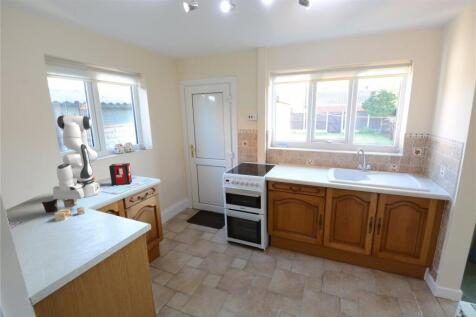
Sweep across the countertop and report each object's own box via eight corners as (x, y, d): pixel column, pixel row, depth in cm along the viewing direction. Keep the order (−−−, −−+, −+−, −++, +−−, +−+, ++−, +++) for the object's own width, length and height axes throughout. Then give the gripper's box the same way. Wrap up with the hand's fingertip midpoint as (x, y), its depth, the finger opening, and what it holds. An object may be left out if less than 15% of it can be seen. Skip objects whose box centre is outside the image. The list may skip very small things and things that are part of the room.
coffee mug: (50, 215, 157) (48, 202, 155) (41, 214, 159) (38, 201, 157) (66, 208, 168) (63, 196, 166) (57, 207, 170) (54, 195, 168)
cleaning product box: (132, 181, 231) (129, 163, 226) (129, 184, 222) (127, 165, 218) (114, 183, 227) (112, 164, 223) (111, 185, 219) (108, 166, 215)
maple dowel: (79, 212, 158) (78, 207, 157) (85, 211, 159) (84, 206, 158) (76, 215, 154) (75, 209, 153) (82, 214, 155) (81, 209, 154)
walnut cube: (69, 204, 165) (68, 198, 164) (76, 204, 165) (75, 198, 164) (64, 207, 160) (63, 201, 159) (71, 207, 161) (70, 201, 159)
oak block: (62, 216, 153) (60, 209, 152) (71, 215, 153) (69, 209, 152) (55, 220, 147) (54, 213, 146) (65, 219, 147) (63, 213, 146)
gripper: (49, 187, 156) (52, 205, 159) (78, 188, 157) (81, 206, 160) (56, 184, 162) (59, 202, 166) (84, 184, 163) (86, 202, 166)
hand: (70, 204), depth 163 cm, fingers closed on walnut cube, 5 cm apart
